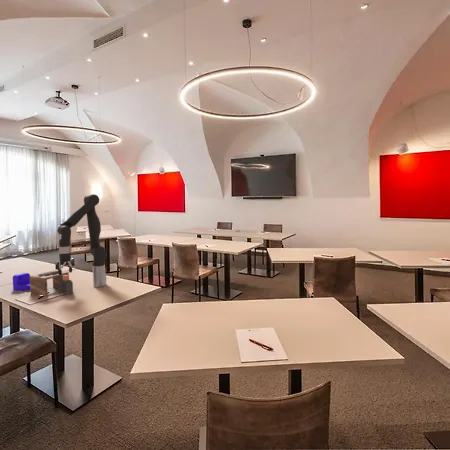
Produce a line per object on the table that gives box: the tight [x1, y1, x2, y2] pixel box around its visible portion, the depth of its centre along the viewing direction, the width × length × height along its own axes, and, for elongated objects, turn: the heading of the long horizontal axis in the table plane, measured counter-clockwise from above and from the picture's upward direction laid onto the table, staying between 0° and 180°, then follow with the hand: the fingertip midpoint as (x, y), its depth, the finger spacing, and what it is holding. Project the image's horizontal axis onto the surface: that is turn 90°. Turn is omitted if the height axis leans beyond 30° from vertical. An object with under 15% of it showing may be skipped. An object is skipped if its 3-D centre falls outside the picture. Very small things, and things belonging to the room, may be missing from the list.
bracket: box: [12, 272, 31, 292], centre depth 231 cm, size 18×11×12 cm, turn 72°
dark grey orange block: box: [59, 274, 74, 296], centre depth 220 cm, size 4×9×14 cm, turn 67°
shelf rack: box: [30, 269, 70, 297], centre depth 224 cm, size 20×16×15 cm
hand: (65, 273), depth 219 cm, fingers open, 8 cm apart
